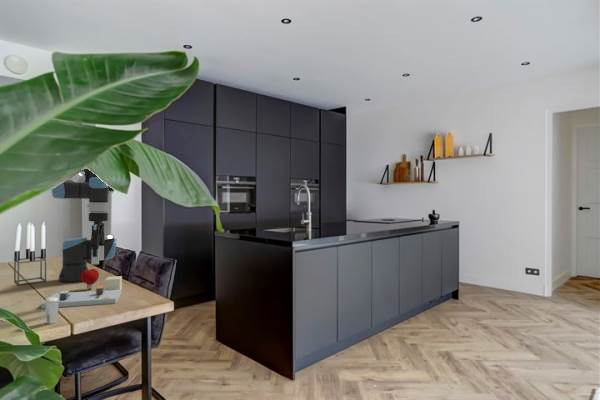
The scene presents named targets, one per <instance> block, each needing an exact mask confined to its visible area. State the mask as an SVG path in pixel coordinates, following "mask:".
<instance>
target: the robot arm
mask: <svg viewBox="0 0 600 400" xmlns="http://www.w3.org/2000/svg"><path fill="white" fill-rule="evenodd" d="M115 190H116V189H115ZM115 190H113V189H112V188H110V187H109V186H107V185H106V184H105V183H104V182H102V181H101V180H100V179H99V178H98V177H97V176H96V175H95V174H93V173H92V172H91V171H89V170H88V169H84V170H82V171H81V172H79V173H78V174H76V175H75V176H73V177H72V178H70V179H69V180H67V181H65V182H64V183H62V184H60V185H59V186H57V187H56V188H54V189H52V188H51V194H52V197H53V198H54V199H61V200H63V199H72V200H73V199H84V200H86V199H87V200H88V204H87V205H86V206H87V207H88V211H89V213H88V222H93V225H91V236H90V237H91V239H88V238H87V237H76V238H71V239H67V240H64V241H63V243H62V249H61V251H62V261H61V262H62V265H61V270H60V272H59V273H58V274H59V275H58V280H57V282H60V283H76V282H83V281H82V280H81V274H82V273H83V272H84V271H85V270H89V267H88V264H87V263H88V261H91V262H90V263H91V265H99V264H100V261H104V260H112V259H113V258H114V257H115V255H116V250H117V249H116V247H117V241H118V240H117V239H116V238H115V235H113V233H112V205H113V204H112V202H113V201H112V200H113V199H112V198H113V197H112V195H113V193H114V192H115Z"/></svg>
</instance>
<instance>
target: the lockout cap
mask: <svg viewBox="0 0 600 400" xmlns="http://www.w3.org/2000/svg"><path fill="white" fill-rule="evenodd" d="M104 287H105V288H104V290H120V289H121V291H122V290H123V276H122V275H120V276H118V275H117V276H108V277H107V278H106V279H105V285H104Z"/></svg>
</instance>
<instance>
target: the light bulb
mask: <svg viewBox="0 0 600 400" xmlns="http://www.w3.org/2000/svg"><path fill="white" fill-rule="evenodd" d="M99 277H100V273H99V270H98V269H96V268H91V269H88V270H85V271H84V272H83V273H82V274H81V280H82V281H81V282H82V283H85V284H86V289H87V290H89V291H91V290H92V289H93V288H94V284H95V283H96V282H97V281H99V280H98V279H99Z"/></svg>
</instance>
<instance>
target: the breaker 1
mask: <svg viewBox="0 0 600 400" xmlns="http://www.w3.org/2000/svg"><path fill="white" fill-rule="evenodd" d="M59 293H60V300H66V299H67V298H68V293H69V290H60V292H59Z"/></svg>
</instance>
